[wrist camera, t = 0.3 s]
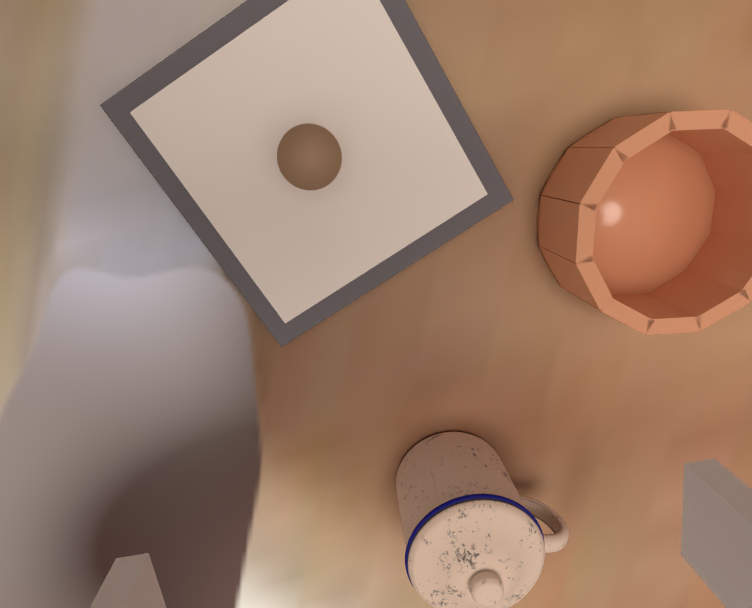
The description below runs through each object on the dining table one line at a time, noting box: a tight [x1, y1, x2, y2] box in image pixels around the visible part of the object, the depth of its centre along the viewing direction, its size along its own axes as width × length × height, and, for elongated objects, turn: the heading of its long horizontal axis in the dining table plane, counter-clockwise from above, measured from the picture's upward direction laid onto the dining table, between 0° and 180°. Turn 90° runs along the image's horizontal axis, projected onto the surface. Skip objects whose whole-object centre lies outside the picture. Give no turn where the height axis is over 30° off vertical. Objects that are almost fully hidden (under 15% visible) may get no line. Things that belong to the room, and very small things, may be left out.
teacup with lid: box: [396, 432, 569, 608], centre depth 37 cm, size 12×9×12 cm
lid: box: [130, 0, 487, 323], centre depth 30 cm, size 16×16×10 cm
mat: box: [100, 0, 513, 347], centre depth 35 cm, size 19×19×1 cm
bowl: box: [537, 109, 752, 335], centre depth 34 cm, size 13×13×6 cm
